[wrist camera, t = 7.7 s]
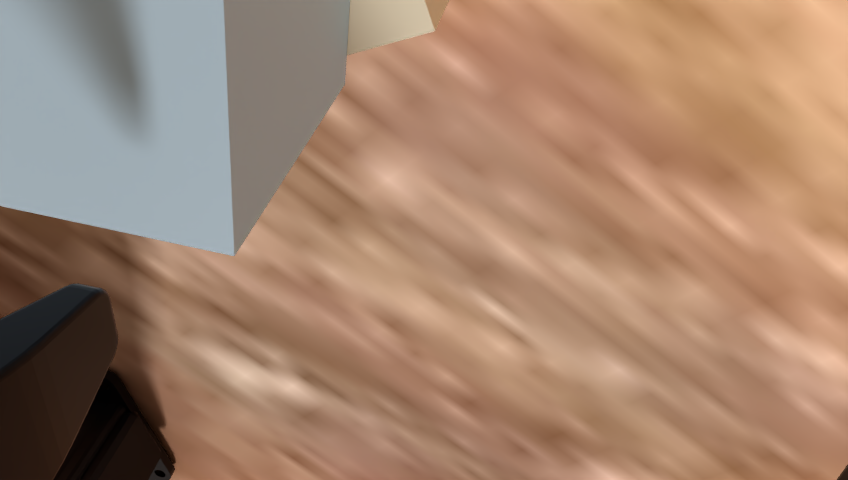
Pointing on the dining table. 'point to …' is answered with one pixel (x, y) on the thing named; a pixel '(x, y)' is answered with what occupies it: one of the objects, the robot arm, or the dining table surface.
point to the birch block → (390, 21)
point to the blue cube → (162, 109)
